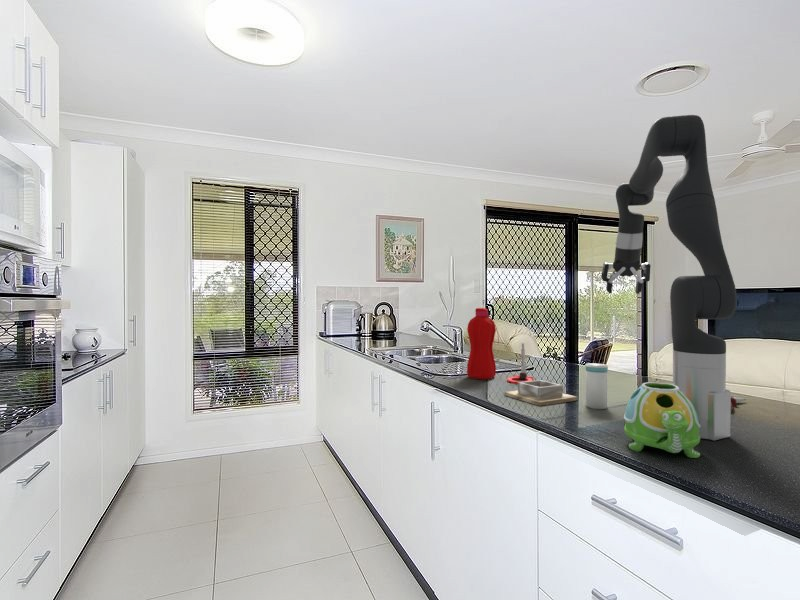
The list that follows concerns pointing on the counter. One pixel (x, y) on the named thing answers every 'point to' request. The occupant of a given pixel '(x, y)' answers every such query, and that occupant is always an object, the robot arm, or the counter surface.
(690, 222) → the robot arm
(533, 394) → the wooden square holder
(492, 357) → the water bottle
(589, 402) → the cylindrical container
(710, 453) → the counter surface
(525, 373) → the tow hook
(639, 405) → the turtle holder
